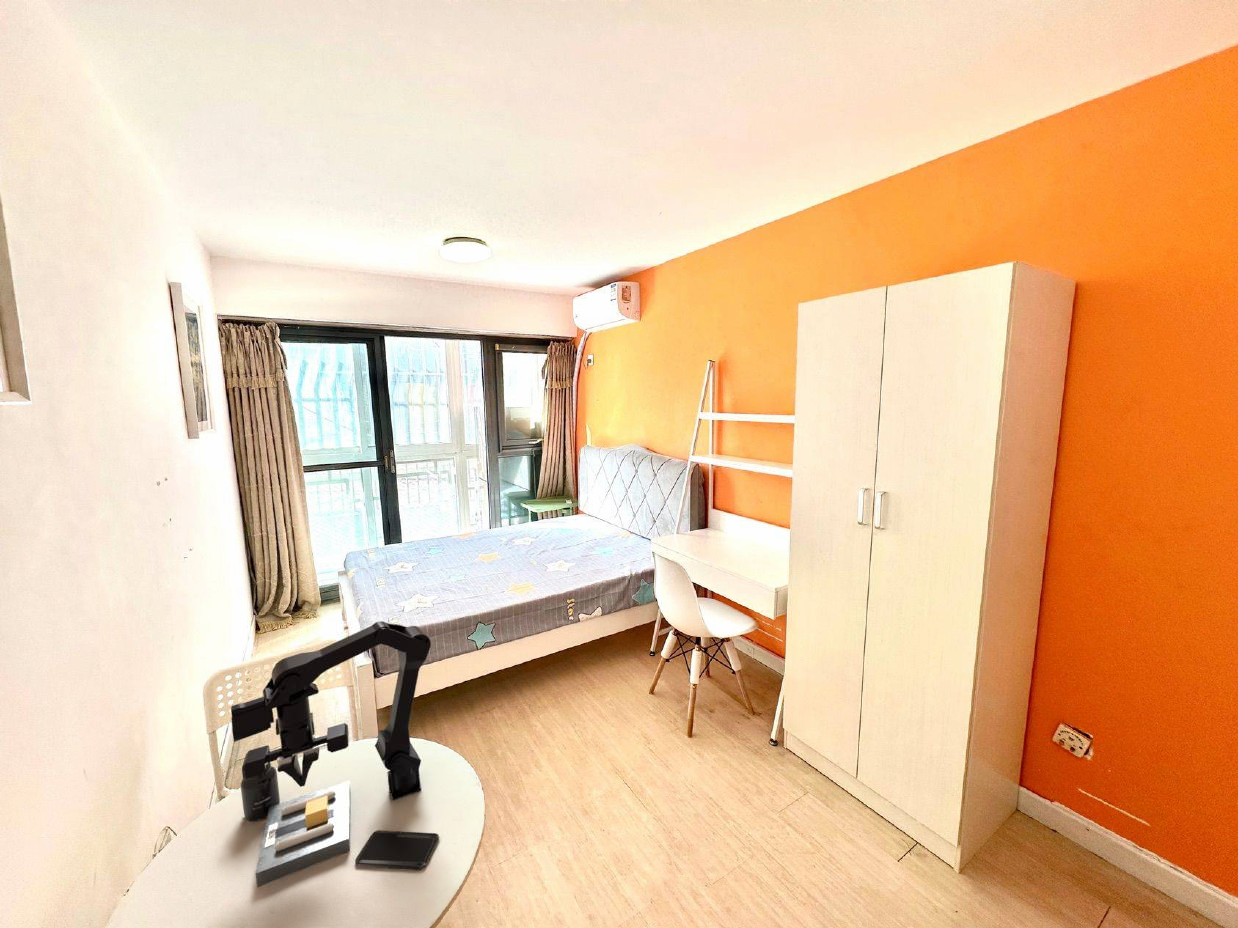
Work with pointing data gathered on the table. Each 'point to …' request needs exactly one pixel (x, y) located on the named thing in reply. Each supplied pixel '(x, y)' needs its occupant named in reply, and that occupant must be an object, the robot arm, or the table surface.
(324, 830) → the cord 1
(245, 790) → the supplement bottle
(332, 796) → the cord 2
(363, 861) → the phone
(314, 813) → the block
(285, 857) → the panel
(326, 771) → the table surface
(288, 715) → the robot arm
